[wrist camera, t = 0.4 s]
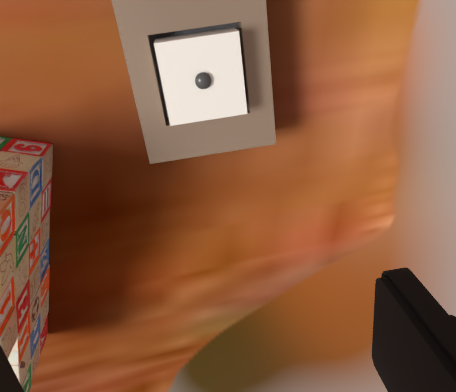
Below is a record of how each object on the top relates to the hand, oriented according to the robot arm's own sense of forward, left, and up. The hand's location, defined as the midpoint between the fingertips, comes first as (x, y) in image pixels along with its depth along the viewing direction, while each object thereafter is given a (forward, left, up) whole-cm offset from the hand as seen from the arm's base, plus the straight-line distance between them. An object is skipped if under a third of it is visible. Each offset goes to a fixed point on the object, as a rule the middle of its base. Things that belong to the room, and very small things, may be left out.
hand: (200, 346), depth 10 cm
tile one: (-2, +2, -23) cm, 24 cm away
